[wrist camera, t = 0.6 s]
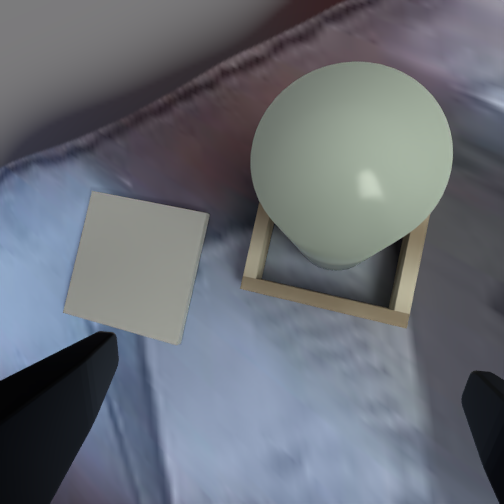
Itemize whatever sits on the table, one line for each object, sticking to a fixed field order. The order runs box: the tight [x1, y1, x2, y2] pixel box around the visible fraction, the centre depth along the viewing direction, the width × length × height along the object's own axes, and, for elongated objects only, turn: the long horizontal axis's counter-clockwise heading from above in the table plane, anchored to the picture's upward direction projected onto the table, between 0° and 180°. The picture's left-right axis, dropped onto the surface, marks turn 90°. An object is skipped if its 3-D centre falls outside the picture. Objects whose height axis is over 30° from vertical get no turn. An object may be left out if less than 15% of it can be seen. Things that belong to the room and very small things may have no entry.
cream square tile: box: [63, 191, 210, 345], centre depth 25 cm, size 9×9×1 cm
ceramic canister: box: [250, 62, 453, 271], centre depth 16 cm, size 5×5×14 cm
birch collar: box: [240, 202, 430, 328], centre depth 22 cm, size 10×10×2 cm
